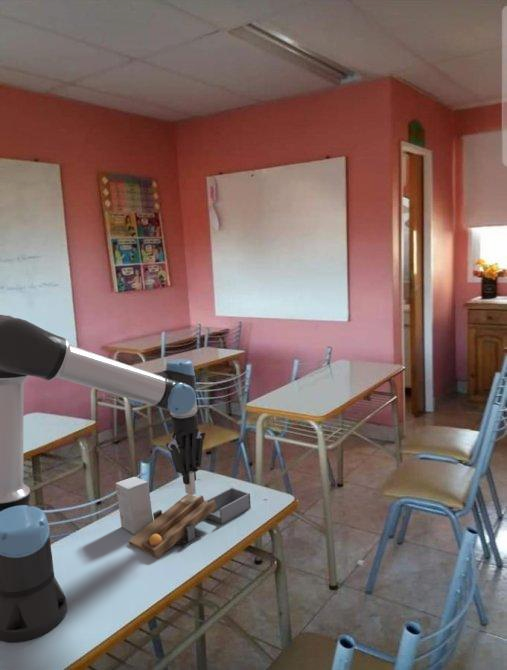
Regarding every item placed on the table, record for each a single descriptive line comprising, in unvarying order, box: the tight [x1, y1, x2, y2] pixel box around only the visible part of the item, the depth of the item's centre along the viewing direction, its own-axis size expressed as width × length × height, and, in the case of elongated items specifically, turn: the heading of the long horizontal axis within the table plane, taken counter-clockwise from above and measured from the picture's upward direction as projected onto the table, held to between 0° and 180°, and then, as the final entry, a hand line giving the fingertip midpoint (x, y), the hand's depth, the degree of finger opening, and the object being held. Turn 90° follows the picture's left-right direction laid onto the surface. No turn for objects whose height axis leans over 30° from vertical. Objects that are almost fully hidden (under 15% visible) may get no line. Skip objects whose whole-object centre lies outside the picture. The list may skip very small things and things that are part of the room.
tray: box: [205, 487, 252, 525], centre depth 162 cm, size 12×7×4 cm, turn 138°
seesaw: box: [128, 493, 217, 559], centre depth 151 cm, size 22×12×2 cm, turn 138°
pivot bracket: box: [152, 509, 202, 548], centre depth 151 cm, size 6×15×4 cm, turn 48°
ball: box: [149, 534, 162, 547], centre depth 142 cm, size 3×3×3 cm
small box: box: [115, 476, 154, 535], centre depth 155 cm, size 8×6×13 cm
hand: (190, 492), depth 159 cm, fingers closed
